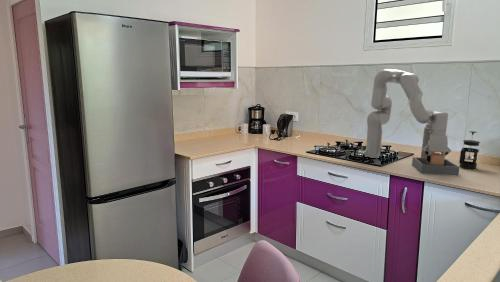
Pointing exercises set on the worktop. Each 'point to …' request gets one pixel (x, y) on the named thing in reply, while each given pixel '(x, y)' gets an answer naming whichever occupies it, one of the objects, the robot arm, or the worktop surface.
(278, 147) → the worktop surface
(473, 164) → the french press
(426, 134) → the thermos bottle
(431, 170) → the charcoal crate
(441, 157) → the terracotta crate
